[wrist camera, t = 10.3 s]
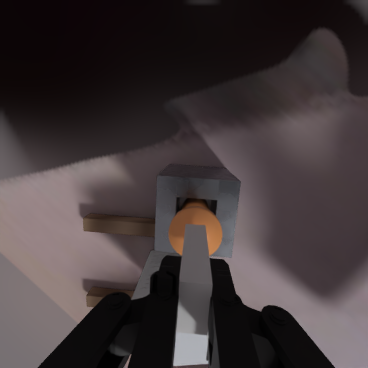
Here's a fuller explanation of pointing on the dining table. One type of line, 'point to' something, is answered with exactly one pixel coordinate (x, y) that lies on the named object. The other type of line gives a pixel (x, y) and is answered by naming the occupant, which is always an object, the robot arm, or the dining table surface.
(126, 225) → the track
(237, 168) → the dining table surface
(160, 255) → the small box
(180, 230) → the orange piece
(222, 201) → the grey block with hole
